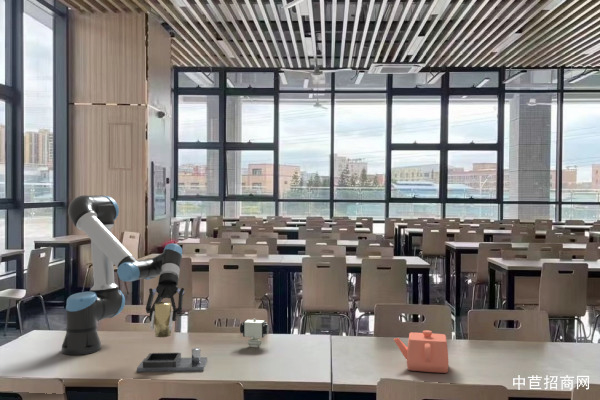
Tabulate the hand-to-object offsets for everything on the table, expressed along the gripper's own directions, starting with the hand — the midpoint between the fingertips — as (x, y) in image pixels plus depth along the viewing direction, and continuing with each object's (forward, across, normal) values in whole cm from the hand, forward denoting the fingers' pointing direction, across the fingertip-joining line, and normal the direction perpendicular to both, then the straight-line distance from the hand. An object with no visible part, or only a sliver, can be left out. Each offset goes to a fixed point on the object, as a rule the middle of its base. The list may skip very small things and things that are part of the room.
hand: (161, 327), depth 198 cm
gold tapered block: (0, 0, -5) cm, 5 cm away
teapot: (+13, -97, -10) cm, 98 cm away
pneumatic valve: (-10, -34, -32) cm, 48 cm away
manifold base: (+8, -4, -14) cm, 16 cm away
